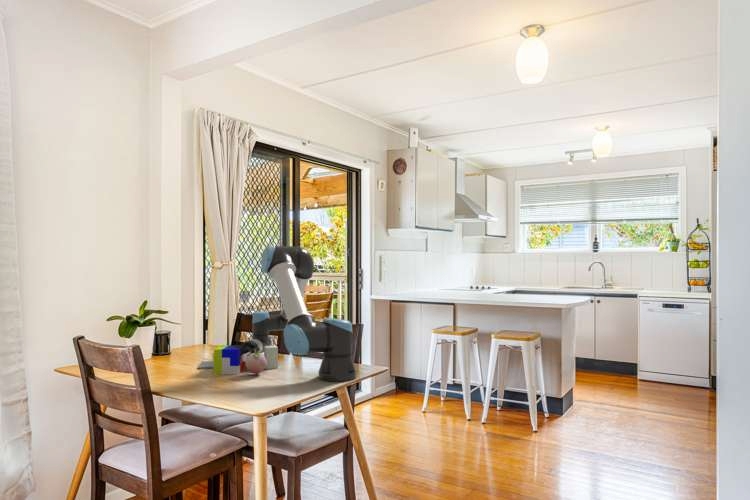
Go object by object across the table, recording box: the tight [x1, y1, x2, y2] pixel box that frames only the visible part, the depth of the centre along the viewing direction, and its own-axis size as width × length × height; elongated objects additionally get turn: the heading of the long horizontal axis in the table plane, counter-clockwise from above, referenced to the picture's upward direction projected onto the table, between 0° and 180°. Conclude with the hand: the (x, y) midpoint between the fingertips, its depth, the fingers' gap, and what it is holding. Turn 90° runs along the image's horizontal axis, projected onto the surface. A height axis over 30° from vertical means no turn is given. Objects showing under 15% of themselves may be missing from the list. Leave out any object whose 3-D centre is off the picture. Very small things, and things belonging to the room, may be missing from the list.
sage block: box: [263, 344, 279, 370], centre depth 220 cm, size 5×5×9 cm
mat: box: [197, 360, 214, 370], centre depth 224 cm, size 13×13×1 cm
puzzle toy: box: [213, 344, 246, 375], centre depth 213 cm, size 10×10×10 cm
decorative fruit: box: [245, 350, 267, 376], centre depth 206 cm, size 9×8×10 cm
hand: (227, 357), depth 212 cm, fingers open, 13 cm apart
